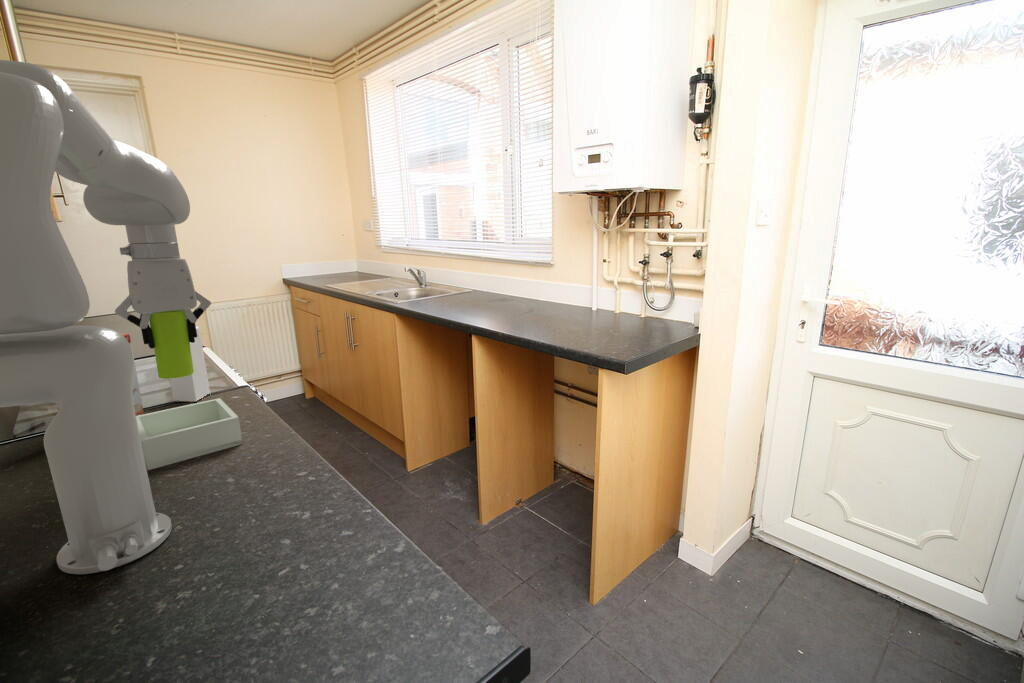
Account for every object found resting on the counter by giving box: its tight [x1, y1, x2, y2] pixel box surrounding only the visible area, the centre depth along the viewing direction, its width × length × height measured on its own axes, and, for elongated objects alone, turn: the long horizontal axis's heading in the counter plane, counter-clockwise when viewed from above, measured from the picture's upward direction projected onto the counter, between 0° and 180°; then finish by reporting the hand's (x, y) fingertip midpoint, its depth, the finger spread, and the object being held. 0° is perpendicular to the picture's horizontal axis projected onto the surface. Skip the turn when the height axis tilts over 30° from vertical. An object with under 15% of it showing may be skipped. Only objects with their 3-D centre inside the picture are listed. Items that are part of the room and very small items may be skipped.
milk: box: [169, 318, 211, 401], centre depth 124 cm, size 6×6×22 cm
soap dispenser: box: [149, 311, 194, 380], centre depth 94 cm, size 6×7×20 cm
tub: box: [136, 397, 244, 471], centre depth 99 cm, size 16×16×6 cm
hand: (172, 343), depth 95 cm, fingers closed on soap dispenser, 5 cm apart
